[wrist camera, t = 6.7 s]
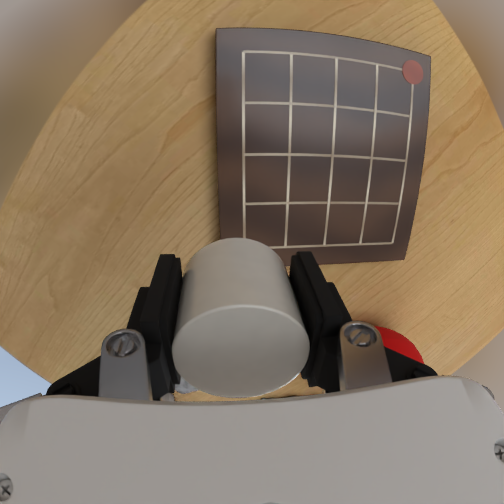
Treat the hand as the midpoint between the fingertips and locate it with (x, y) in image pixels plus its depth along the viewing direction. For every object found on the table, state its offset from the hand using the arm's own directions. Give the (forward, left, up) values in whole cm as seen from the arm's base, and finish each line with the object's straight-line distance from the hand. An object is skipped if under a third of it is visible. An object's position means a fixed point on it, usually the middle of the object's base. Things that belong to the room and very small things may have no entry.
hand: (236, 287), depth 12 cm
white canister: (0, 0, 0) cm, 0 cm away
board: (-2, +8, -15) cm, 17 cm away
